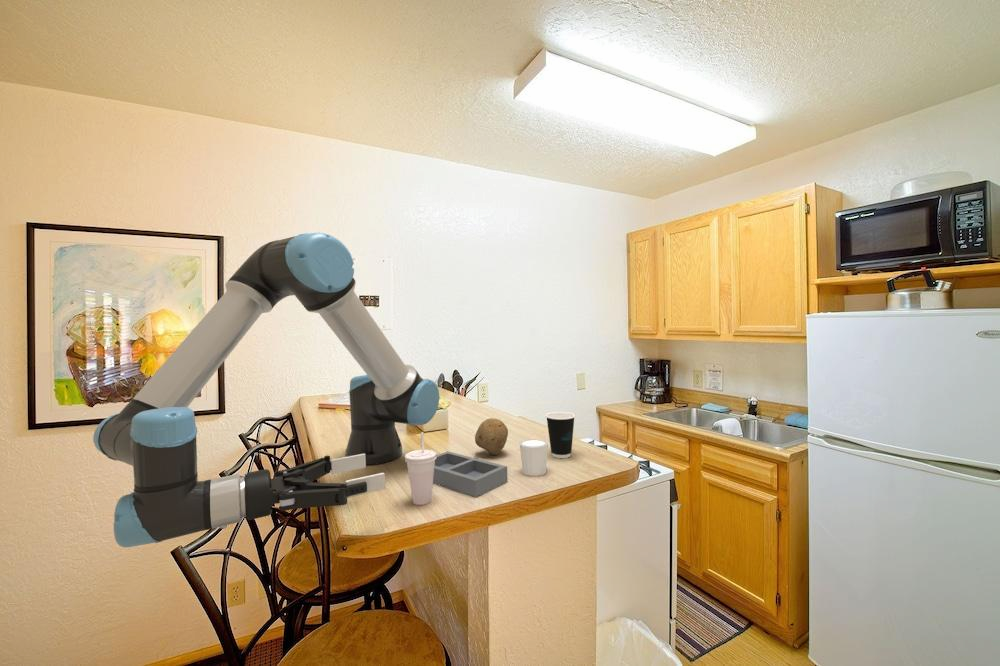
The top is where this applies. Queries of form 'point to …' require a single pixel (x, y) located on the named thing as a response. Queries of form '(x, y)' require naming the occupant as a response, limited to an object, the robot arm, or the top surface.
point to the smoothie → (421, 473)
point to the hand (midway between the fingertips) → (374, 469)
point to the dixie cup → (560, 433)
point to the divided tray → (468, 473)
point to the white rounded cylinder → (534, 457)
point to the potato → (491, 435)
